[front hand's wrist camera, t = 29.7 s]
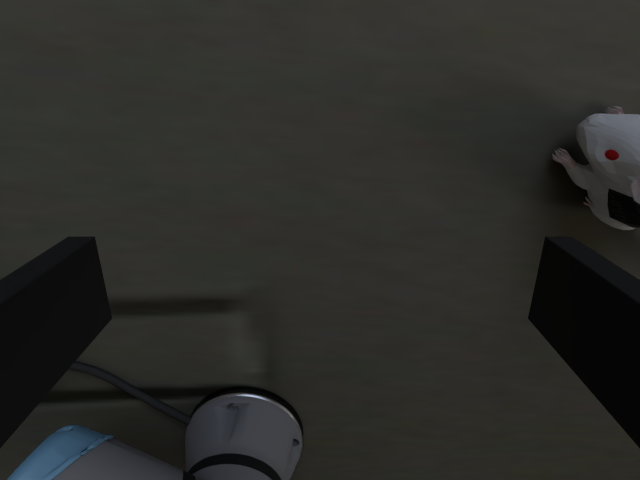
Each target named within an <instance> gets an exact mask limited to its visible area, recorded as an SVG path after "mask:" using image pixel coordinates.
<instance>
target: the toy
mask: <svg viewBox="0 0 640 480" xmlns="http://www.w3.org/2000/svg"><path fill="white" fill-rule="evenodd" d="M612 107H614V108H615V109H612V108H609V109H610V110H611V111H610V110H608V109H606V110H607V111H608V112H607V111H605V110H604V111H605V114H593V115H591V116H588V117H587V118H586V119H585V120H584V121H582V122H581V123H580V124H578V126H577V135H576V136H577V140H578V143H579V145H580V147H581V149H582V151H583V153H584V155H585V156H586V158H587V160H588V161H589V163H590V164H588V165H586V166H585V165H581V164H579V163H577V162H575V161H574V160H573V158H572V157H571V156H570V155H569V153H568V152H567V151H566V150H564V149H561V148H559V149H560V150H561V151H562V152H561V151H560V150H558V149H556V150H557V151H558V152H557V151H555V150H554V151H555V152H556V153H555V155H556V156H555V155H554V154H552V155H553V160H555V161H557V162H559V163H561V164H562V165H563V166H564V167H565V168H566V171H567V173H568V175H569V176H570V178H571V179H572V181H573V182H574V183H575V184H576V185H578V186H579V187H581V188H583V189H586V190H587V193H588V195H587V196H588V197H589V199H588V198H586V197H585V198H586V201H587V202H588V203H585V202H584V204H585V205H587V206H589V207H590V209H591V211H592V212H593V214H594V215H595V216H596V217H597V218H599V219H600V220H601V221H602V222H604V223H606V224H608V225H609V226H611V227H614V228H617V229H621V230H633V229H635V228H638V229H640V115H637V114H624V113H623V110H622V108H621V107H616V106H612ZM607 108H608V107H607ZM557 148H558V147H557Z"/></svg>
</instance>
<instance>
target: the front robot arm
mask: <svg viewBox="0 0 640 480" xmlns="http://www.w3.org/2000/svg"><path fill="white" fill-rule="evenodd" d="M111 319H112V316H111V312H110V307H109V302H108V297H107V293H106V288H105V283H104V278H103V274H102V269H101V264H100V260H99V255H98V250H97V245H96V241H95V237H67V238H66V239H64V240H63V241H61V242H59V243H58V244H56V245H55V246H53V247H52V248H50V249H48V250H47V251H45V252H44V253H42V254H41V255H39V256H37V257H36V258H34V259H33V260H31V261H29V262H28V263H26V264H25V265H23V266H22V267H20V268H18V269H17V270H15V271H14V272H12V273H11V274H9V275H7V276H6V277H4V278H3V279H1V280H0V448H1V447H2V445H3V444H4V443H5V442H6V441H7V440H8V439H9V437H10V436H11V435H12V434H13V433H14V432H15V430H16V429H17V428H18V427H19V426H20V425H21V423H22V422H23V421H24V420H25V419H26V418H27V416H28V415H29V414H30V413H31V412H32V411H33V409H34V408H35V407H36V406H37V405H38V404H39V403H40V401H41V400H42V399H43V398H44V397H45V396H46V394H47V393H48V392H49V391H50V390H51V389H52V387H53V386H54V385H55V384H56V383H57V382H58V380H59V379H60V378H61V377H62V376H63V375H64V373H65V372H66V371H67V370H68V369H72V370H77V371H81V372H85V373H88V374H91V375H94V376H96V377H99V378H101V379H103V380H105V381H107V382H109V383H111V384H113V385H115V386H117V387H118V388H120V389H122V390H124V391H125V392H127V393H129V394H130V395H132V396H134V397H136V398H138V399H140V400H142V401H143V402H145V403H147V404H149V405H151V406H153V407H154V408H156V409H158V410H160V411H162V412H164V413H165V414H167V415H169V416H171V417H173V418H175V419H177V420H179V421H181V422H183V423H185V424H187V428H186V433H185V465H186V472H185V471H183V470H181V469H179V468H177V467H175V466H173V465H170V464H168V463H166V462H164V461H161V460H159V459H157V458H155V457H153V456H151V455H149V454H147V453H144V452H142V451H140V450H138V449H136V448H134V447H132V446H130V445H127V444H125V443H123V442H121V441H119V440H117V439H115V437H114V436H113V435H104V434H101V433H98V432H96V431H93V430H91V429H88V428H86V427H83V426H80V425H69V426H66V427H63V428H61V429H59V430H57V431H56V432H54V433H53V434H52V435H50V436H49V437H48V438H47V439H45V440H44V441H43V442H42V443H41V444H40V445H39V446H38V447H37V448H36V449H35V450H34V451H33V452H32V453H31V454H30V455H29V456H28V457H27V458H26V459H25V460H24V461H23V462H22V463H21V465H20V466H19V467H18V468H17V469H16V470H15V471H14V472H13V473H12V474H11V476H10V477H9V478H8V479H7V480H290V478H291V476H292V473H293V471H294V469H295V467H296V465H297V462H298V460H299V458H300V455H301V452H302V446H303V426H302V422H301V420H300V418H299V416H298V414H297V412H296V411H295V410H294V408H293V407H292V406H291V405H290V404H289V403H288V402H286V401H285V400H284V399H282V398H281V397H279V396H278V395H276V394H274V393H271V392H269V391H266V390H263V389H259V388H254V387H231V388H226V389H222V390H219V391H217V392H214V393H212V394H210V395H209V396H207V397H206V398H204V399H203V400H202V401H201V402H200V403H199V404H198V405H197V406H196V407H195V409H194V411H193V412H192V415H191V417H189V416H188V415H186V414H184V413H182V412H180V411H178V410H176V409H174V408H172V407H170V406H168V405H167V404H165V403H163V402H161V401H159V400H157V399H155V398H154V397H152V396H150V395H148V394H146V393H145V392H143V391H141V390H139V389H137V388H135V387H134V386H132V385H130V384H128V383H127V382H125V381H123V380H122V379H120V378H118V377H116V376H114V375H112V374H110V373H108V372H106V371H104V370H102V369H99V368H96V367H94V366H91V365H87V364H84V363H80V362H75V361H76V360H77V358H78V357H79V356H80V355H81V354H82V353H83V351H84V350H85V349H86V348H87V347H88V346H89V344H90V343H91V342H92V341H93V340H94V339H95V337H96V336H97V335H98V334H99V333H100V332H101V331H102V329H103V328H104V327H105V326H106V325H107V324H108V322H109V321H110V320H111ZM528 319H529V320H530V321H531V322H532V324H533V325H534V326H535V327H536V328H537V329H538V331H539V332H540V333H541V334H542V335H543V336H544V337H545V339H546V340H547V341H548V342H549V343H550V344H551V346H552V347H553V348H554V349H555V350H556V351H557V353H558V354H559V355H560V356H561V357H562V358H563V360H564V361H565V362H566V363H567V364H568V365H569V367H570V368H571V369H572V370H573V371H574V372H575V373H576V375H577V376H578V377H579V378H580V379H581V380H582V382H583V383H584V384H585V385H586V386H587V387H588V389H589V390H590V391H591V392H592V393H593V394H594V396H595V397H596V398H597V399H598V400H599V401H600V403H601V404H602V405H603V406H604V407H605V408H606V409H607V411H608V412H609V413H610V414H611V415H612V416H613V418H614V419H615V420H616V421H617V422H618V423H619V425H620V426H621V427H622V428H623V429H624V430H625V432H626V433H627V434H628V435H629V436H630V437H631V439H632V440H633V441H634V442H635V443H636V444H637V445H638V447H639V448H640V280H639V279H637V278H636V277H634V276H633V275H631V274H629V273H628V272H626V271H625V270H623V269H622V268H620V267H618V266H617V265H615V264H614V263H612V262H611V261H609V260H607V259H606V258H604V257H603V256H601V255H599V254H598V253H596V252H595V251H593V250H592V249H590V248H588V247H587V246H585V245H584V244H582V243H581V242H579V241H577V240H576V239H574V238H573V237H545V241H544V245H543V250H542V255H541V260H540V264H539V269H538V274H537V278H536V283H535V288H534V293H533V297H532V302H531V307H530V312H529V316H528Z"/></svg>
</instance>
